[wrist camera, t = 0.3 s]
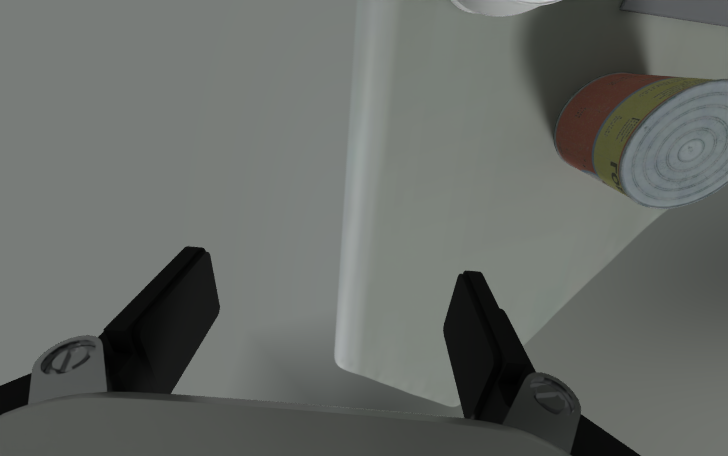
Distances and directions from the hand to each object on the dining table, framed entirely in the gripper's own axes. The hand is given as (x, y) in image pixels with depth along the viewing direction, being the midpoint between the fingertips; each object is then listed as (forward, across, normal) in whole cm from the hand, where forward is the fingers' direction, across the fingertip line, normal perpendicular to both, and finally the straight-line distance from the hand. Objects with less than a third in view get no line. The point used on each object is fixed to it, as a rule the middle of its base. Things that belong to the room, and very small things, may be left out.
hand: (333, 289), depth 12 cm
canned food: (+31, -29, -3) cm, 43 cm away
